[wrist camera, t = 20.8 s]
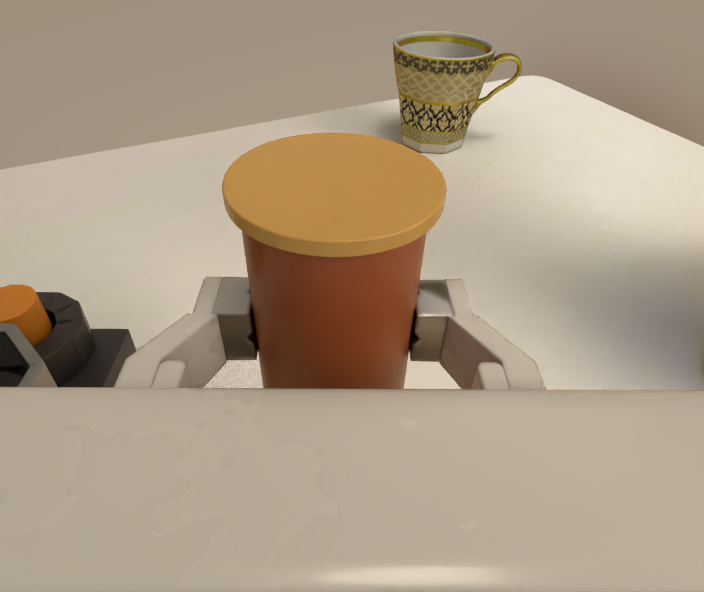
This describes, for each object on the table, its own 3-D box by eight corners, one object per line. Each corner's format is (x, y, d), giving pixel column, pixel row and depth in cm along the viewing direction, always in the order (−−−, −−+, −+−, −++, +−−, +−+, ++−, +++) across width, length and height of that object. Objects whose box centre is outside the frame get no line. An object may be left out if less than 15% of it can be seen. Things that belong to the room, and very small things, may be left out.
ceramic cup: (384, 158, 53) (392, 55, 46) (387, 121, 60) (394, 28, 54) (510, 165, 52) (536, 62, 46) (497, 127, 60) (517, 34, 53)
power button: (37, 354, 24) (19, 322, 22) (-20, 353, 24) (-41, 321, 22) (61, 316, 26) (46, 284, 24) (8, 315, 25) (-10, 284, 24)
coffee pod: (302, 354, 20) (290, 119, 14) (423, 396, 19) (470, 155, 12) (232, 457, 17) (173, 204, 10) (374, 519, 15) (405, 268, 9)
